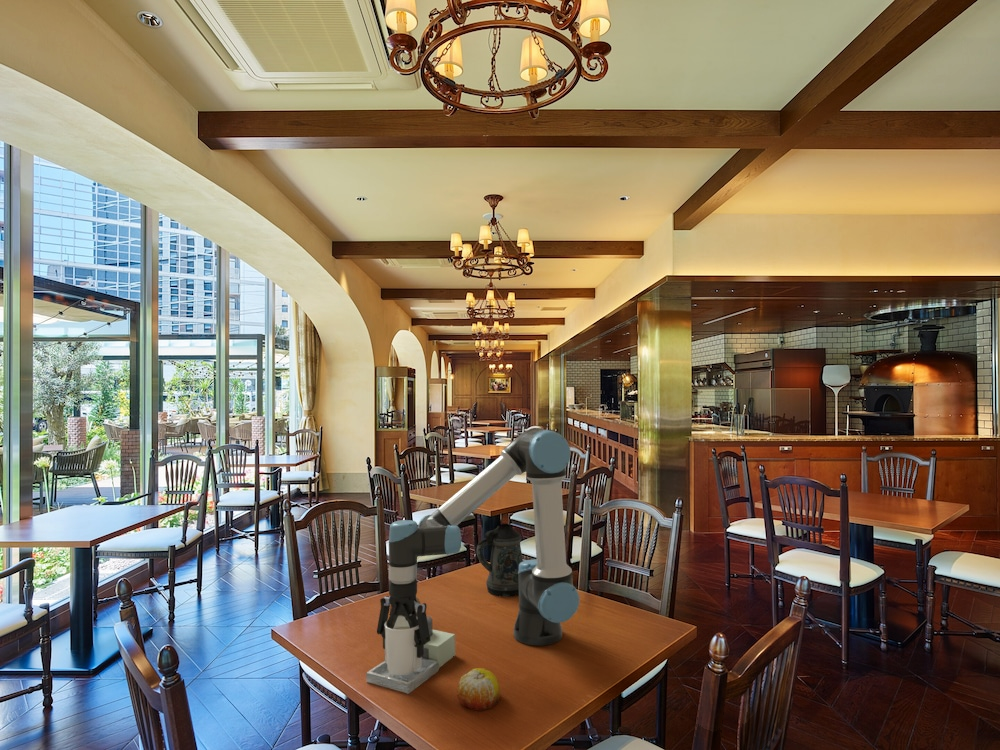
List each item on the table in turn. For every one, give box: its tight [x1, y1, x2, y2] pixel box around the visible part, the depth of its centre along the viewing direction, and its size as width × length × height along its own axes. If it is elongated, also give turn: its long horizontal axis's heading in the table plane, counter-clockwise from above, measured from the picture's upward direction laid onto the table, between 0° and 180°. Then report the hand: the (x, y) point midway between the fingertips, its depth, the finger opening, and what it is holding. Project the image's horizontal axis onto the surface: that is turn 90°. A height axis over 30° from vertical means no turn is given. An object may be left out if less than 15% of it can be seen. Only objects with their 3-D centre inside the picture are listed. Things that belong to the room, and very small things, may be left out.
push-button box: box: [416, 615, 456, 668], centre depth 162 cm, size 18×9×10 cm, turn 62°
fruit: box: [456, 667, 501, 711], centre depth 137 cm, size 11×10×8 cm
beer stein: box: [476, 523, 524, 598], centre depth 216 cm, size 16×19×25 cm
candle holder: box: [384, 616, 420, 675], centre depth 150 cm, size 10×10×12 cm
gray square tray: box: [365, 658, 440, 695], centre depth 150 cm, size 14×14×2 cm
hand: (403, 665), depth 150 cm, fingers closed on candle holder, 9 cm apart
